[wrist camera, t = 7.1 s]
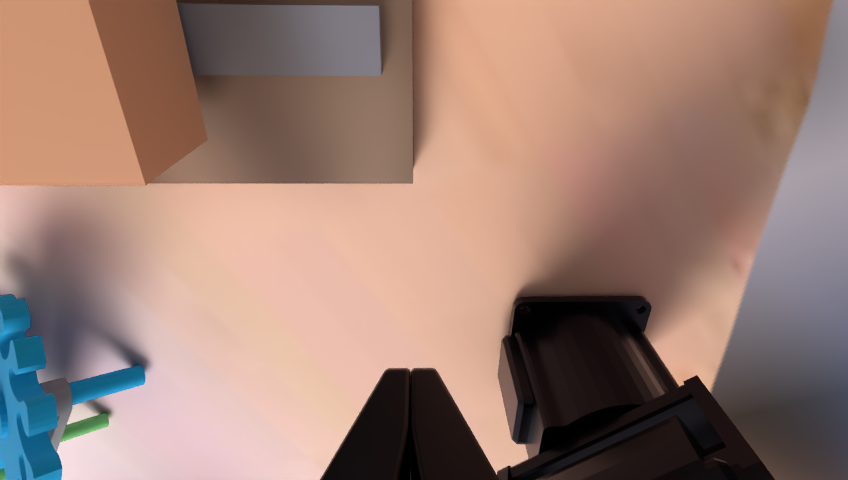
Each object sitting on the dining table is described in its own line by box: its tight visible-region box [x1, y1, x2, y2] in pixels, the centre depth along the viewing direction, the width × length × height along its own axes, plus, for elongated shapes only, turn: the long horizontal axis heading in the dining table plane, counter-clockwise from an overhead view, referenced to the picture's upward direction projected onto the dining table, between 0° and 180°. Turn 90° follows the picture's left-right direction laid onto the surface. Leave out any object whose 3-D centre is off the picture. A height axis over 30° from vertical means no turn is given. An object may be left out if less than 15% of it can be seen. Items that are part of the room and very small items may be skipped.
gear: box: [0, 294, 145, 480], centre depth 21 cm, size 11×6×10 cm
